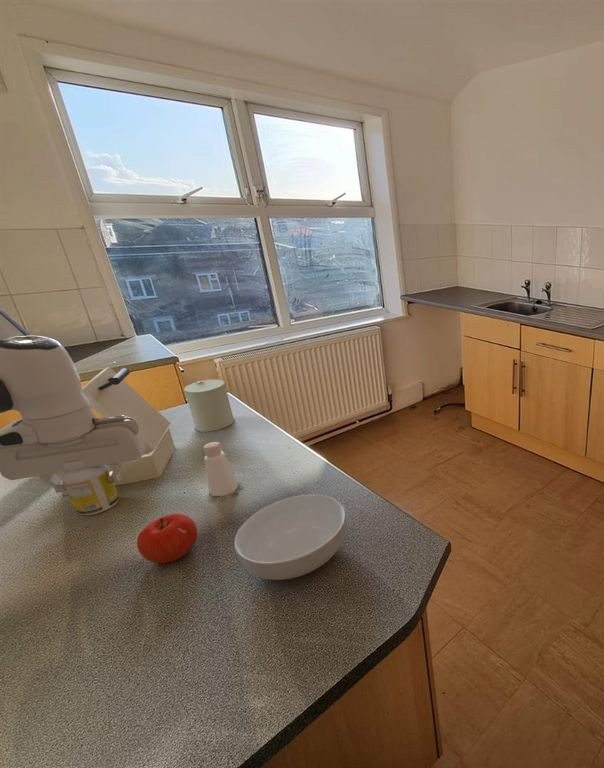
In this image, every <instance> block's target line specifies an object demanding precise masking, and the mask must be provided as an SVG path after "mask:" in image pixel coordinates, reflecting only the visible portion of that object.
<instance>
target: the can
mask: <svg viewBox="0 0 604 768" xmlns="http://www.w3.org/2000/svg"><path fill="white" fill-rule="evenodd" d="M183 391H184V395H185V397H186V401H187V403H188V407H189V409H190V414H191V417H192V420H193V424H194V429H195V430H196V431H198V432H202V433H203V432H204V433H205V432H214V431H218V430H222V429H225V428H227V427H229V426H231V425H232V424H234V422H235V417H234V414H233V410H232V408H231V403H230V400H229V395H228V392H227V391H228V390H227V388H226V382H225V380H223V379H219V378H209V379H203V380H198V381H195V382H192V383H189V384H187V385H186V386H184V387H183Z"/></svg>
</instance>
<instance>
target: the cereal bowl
mask: <svg viewBox="0 0 604 768" xmlns="http://www.w3.org/2000/svg"><path fill="white" fill-rule="evenodd" d="M347 522H348V521H347V514H346V509H345V507H344V506H343V505H342V503H341V502H339V501H338V500H337V499H335V498H333V497H330V496H328V495H323V494H302V495H295V496H290V497H286V498H283V499H281V500H277V501H275V502H273V503H271V504H269V505H266V506H265V507H263V508H260V509H259V510H258V511H256V512H255V513H254V514H252V515H251V516H250V517H248V519H246V521H245V522H243V524H242V525H241V526H240V528H239V529H238V530H237V532H236V535H235V539H234V550H235V553H236V556H237V559H238V560H239V563H240V564H241V566H242V567H243V568H244V569H245V570H246V571H247V572H248V573H250V574H251V575H254V576H255V577H258V578H261V579H264V580H271V581H283V580H291V579H295V578H299V577H302V576H304V575H307V574H310V573H312V572H313V571H315V570H317V569H319V568H320V567H321V566H323V565H324V564H326V563H327V562H328V561H330V560H331V558H333V557H334V555H336V553H337V552H338V550H339V548H340V547H341V545H342V544H343V542H344V539H345V536H346V533H347V532H346V531H347V526H348V525H347Z"/></svg>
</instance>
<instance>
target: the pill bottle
mask: <svg viewBox="0 0 604 768" xmlns="http://www.w3.org/2000/svg"><path fill="white" fill-rule="evenodd" d="M63 466H64V468H65V470H68V471H65V472H63V474H62V476H61V481H62V483H63V485H64V487H65V489H66V491H67V493H68V494H67V495H68V497H69V499H70V502H71V504H72V506H73V508H74V510H75V512H76V513H77V514H78V515H80V516H93V515H96V514H100V513H103V512H105V511H107V510H109V509H111V508H113V507H114V506H116V505H117V504H118V502H119V501H120V495H119V493H118V490H117V487H116V486H115V485H114V483H109V482H108V481H109V480H107V478H106V476H107V475H108V473H109V471H108V468H107V466H106V465H101V466H95V467H89V468H85V467H86V464H85V462H84V461H83V460H82V461H75V462H69V463H63Z"/></svg>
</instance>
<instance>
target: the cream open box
mask: <svg viewBox="0 0 604 768" xmlns="http://www.w3.org/2000/svg"><path fill="white" fill-rule="evenodd" d="M175 450H176V446H175V442H174V439H173V437H172V434H171V430H170V427H168V428H167V430H166V431H165V433H164V435H163V436H162V438H161V440H160V441H159V443H158V444H157V446H156V448H155V449H154V451H152V452H150V453H148V454H147V453H146V452H144V454H143V455H142V456H141V457H140V458H139V459H137V460H131V461H125V462H123V463H122V465H121V468H120V470H119V472H120V475H121V479H120V481H119V482H114V485H115V487H116V486H121V485H122V486H123V485H127V484H131V483H138V482H143V481H148V480H154V479H160V478H161V476H162V474H163V472H164V470H165V469H166V467H167V465H168V463H169V462H170V459H171V457H172V456H173V453H175V452H174V451H175ZM106 466H107V468H108V471H109V472H112V471H113V470H114V468H110V467H109V464H107V465H106ZM62 474H63V472H59V473H55V474H54V475H55V476H57V477H58V478H60V479H61V476H62ZM60 493H61V495H62V496H66V495H68V493H67V491H64V492H60Z"/></svg>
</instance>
